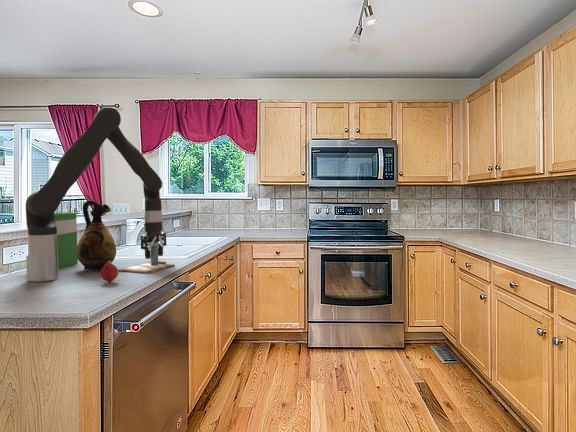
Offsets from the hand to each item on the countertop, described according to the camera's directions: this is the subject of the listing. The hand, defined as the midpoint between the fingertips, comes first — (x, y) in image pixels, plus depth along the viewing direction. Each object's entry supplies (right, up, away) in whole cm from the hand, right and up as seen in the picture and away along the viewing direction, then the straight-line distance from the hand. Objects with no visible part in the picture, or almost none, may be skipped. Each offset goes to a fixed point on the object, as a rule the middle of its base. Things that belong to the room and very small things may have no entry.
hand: (154, 257), depth 171 cm
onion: (-5, -6, -31) cm, 32 cm away
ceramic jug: (-23, -5, -5) cm, 25 cm away
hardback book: (-44, -5, +1) cm, 44 cm away
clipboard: (-2, -5, -4) cm, 6 cm away
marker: (0, -3, 0) cm, 3 cm away
